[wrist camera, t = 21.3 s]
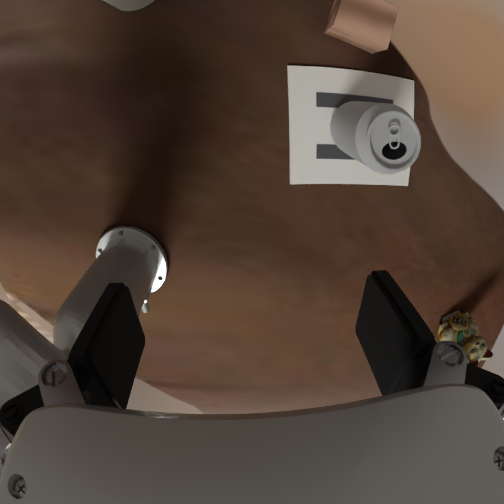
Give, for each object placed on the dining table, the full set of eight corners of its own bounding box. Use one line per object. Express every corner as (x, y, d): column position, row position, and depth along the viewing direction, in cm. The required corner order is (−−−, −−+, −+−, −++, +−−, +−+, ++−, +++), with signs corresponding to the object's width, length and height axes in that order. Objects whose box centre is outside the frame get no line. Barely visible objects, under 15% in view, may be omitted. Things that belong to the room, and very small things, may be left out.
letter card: (406, 185, 38) (408, 186, 37) (289, 183, 38) (290, 184, 38) (412, 80, 30) (414, 80, 29) (287, 65, 30) (287, 65, 30)
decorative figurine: (467, 301, 50) (500, 347, 37) (464, 323, 53) (493, 367, 40) (433, 319, 52) (463, 370, 39) (433, 341, 56) (458, 389, 42)
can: (333, 159, 36) (366, 184, 25) (322, 104, 32) (354, 107, 22) (383, 150, 35) (429, 173, 24) (375, 98, 31) (422, 102, 21)
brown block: (371, 53, 29) (387, 49, 24) (323, 33, 28) (333, 24, 23) (382, 15, 25) (398, 7, 21) (336, -6, 24) (347, -18, 20)
